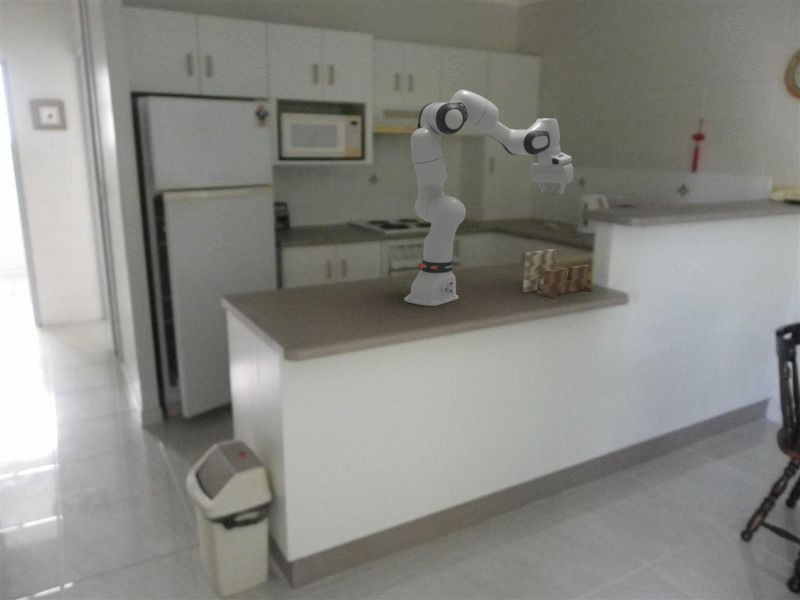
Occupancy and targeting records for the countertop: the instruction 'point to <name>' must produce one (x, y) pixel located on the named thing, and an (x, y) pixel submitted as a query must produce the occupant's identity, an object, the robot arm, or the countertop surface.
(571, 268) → the wooden block row
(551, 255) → the birch plate
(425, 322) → the countertop surface
